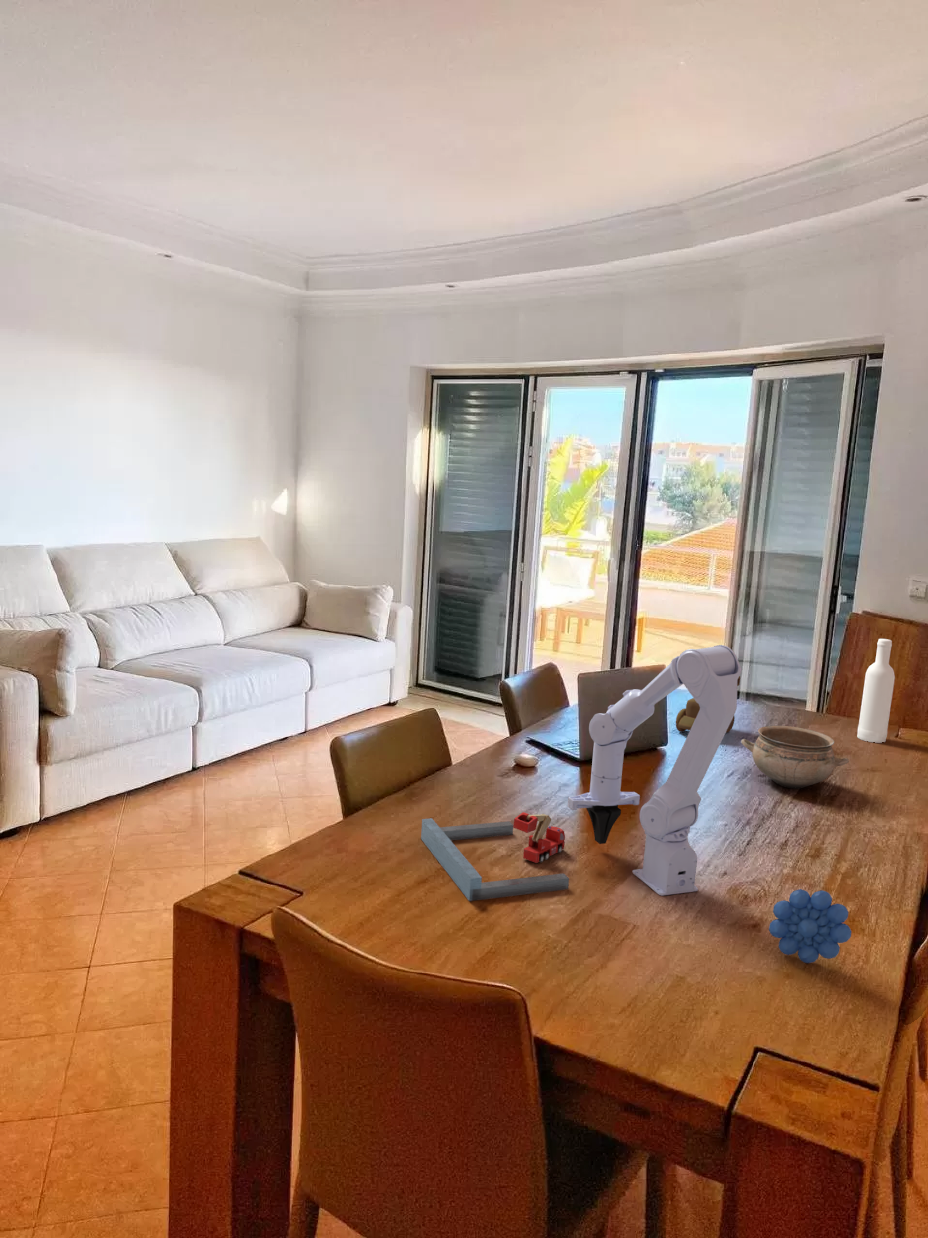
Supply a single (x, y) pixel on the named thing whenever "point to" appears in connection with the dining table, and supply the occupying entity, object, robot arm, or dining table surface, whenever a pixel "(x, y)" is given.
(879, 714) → the bottle
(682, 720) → the wooden toy train
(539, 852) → the toy fire truck
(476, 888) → the garage
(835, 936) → the blue beaded flower
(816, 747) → the cooking pot
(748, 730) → the dining table surface
